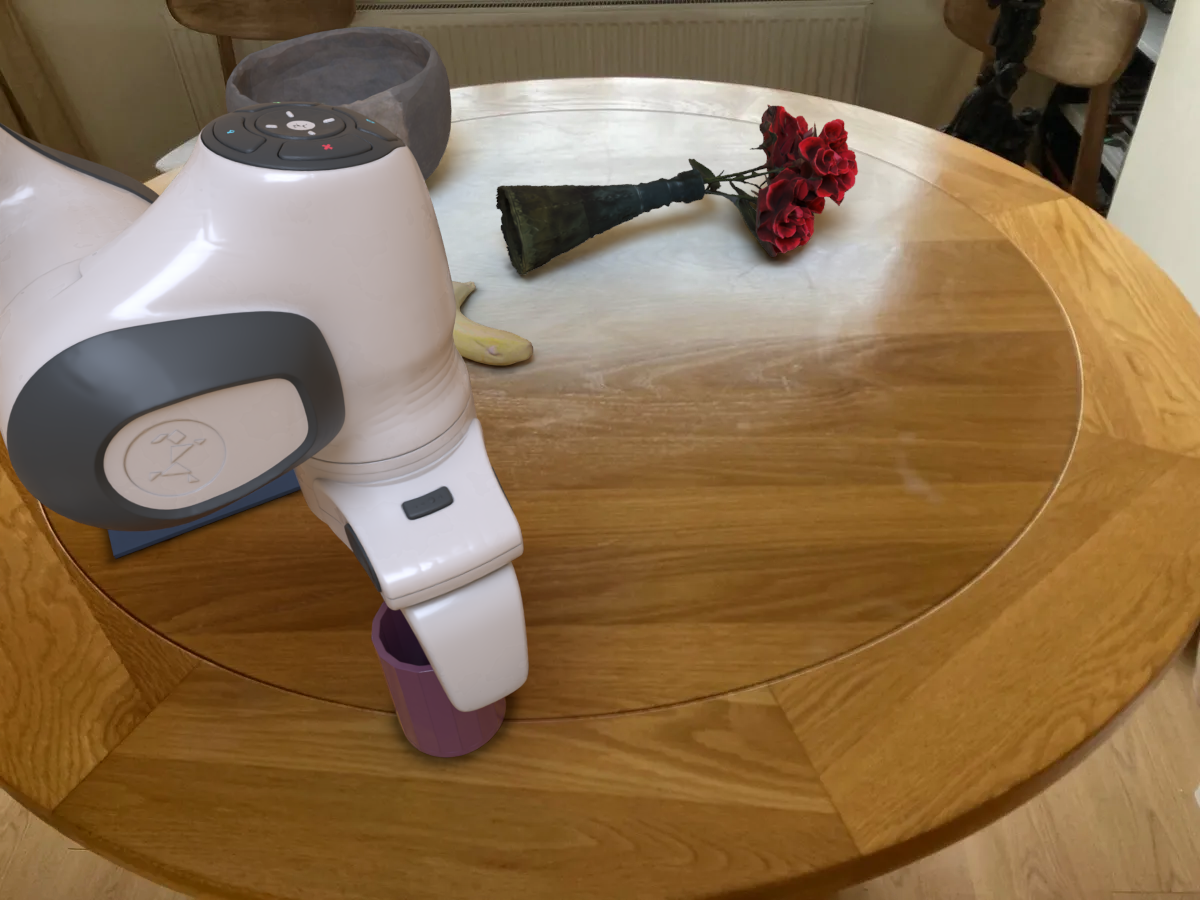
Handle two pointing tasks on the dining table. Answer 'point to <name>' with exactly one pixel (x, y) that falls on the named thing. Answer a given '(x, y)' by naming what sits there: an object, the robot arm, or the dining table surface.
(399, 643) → the cup
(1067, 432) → the dining table surface
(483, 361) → the fruit
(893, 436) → the dining table surface
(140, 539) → the rectangular board
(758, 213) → the vase with red roses
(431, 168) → the bowl
